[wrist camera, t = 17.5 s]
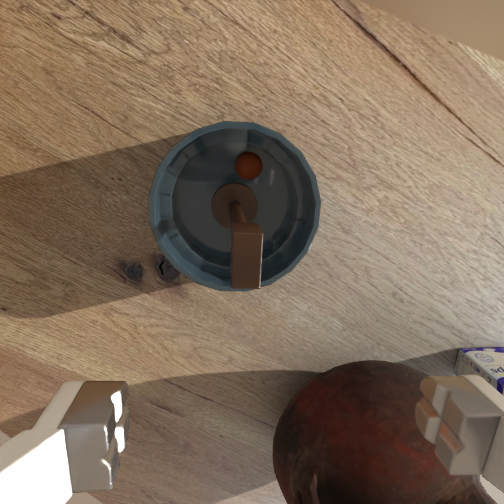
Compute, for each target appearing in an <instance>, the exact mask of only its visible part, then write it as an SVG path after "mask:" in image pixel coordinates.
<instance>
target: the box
mask: <svg viewBox="0 0 504 504" xmlns="http://www.w3.org/2000/svg"><path fill="white" fill-rule="evenodd" d="M454 374H455V375H456V376H459V375H478V376H480V377H482V378H484V379H485V380H486V381H487V382H488V383H489V384H490V385H492V386H493V387H494V388H495V389H496V390H497V391H498V392H499V393H501V394H502V395H503V396H504V347H493V348H459V352H458V357H457V361H456V365H455V369H454Z"/></svg>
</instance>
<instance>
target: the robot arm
mask: <svg viewBox="0 0 504 504" xmlns="http://www.w3.org/2000/svg"><path fill="white" fill-rule="evenodd" d="M420 391H421V392H422V394H423V396H422V397H421V398H420V399H419V400H418V401H417V402H416V407H415V418H416V423H417V426H418V428H419V431H420V432H421V434H422V435H423V437H424V438H425V439H426V440H428V441H429V442H431V443H432V444H434V445H435V452H434V453H435V454H436V455H437V457H438V458H439V460H440V461H441V463H442V464H443V465H444V467H445V468H446V470H447V471H448V473H449V474H450V475H482V477H484V478H485V479H486V480H488V481H489V482H490V483H491V484H493V485H494V486H495V487H497V488H498V489H499V490H501V491H502V492H503V493H504V396H503V395H502V394H501V393H499V392H498V391H497V390H496V389H495V388H494V387H493V386H492V385H490V384H489V383H488V382H487V381H486V380H485V379H484V378H482V377H480V376H478V375H459V376H430V377H424V378H423V380H422V381H421V384H420ZM128 395H129V393H128V384H127V382H126V381H66V382H64V383H62V384H61V386H60V387H59V389H58V390H57V392H56V393H55V395H54V396H53V398H52V399H51V401H50V402H49V404H48V405H47V407H46V408H45V410H44V411H43V413H42V414H41V416H40V417H39V419H38V420H37V422H36V423H35V425H34V426H33V428H32V429H31V430H23V431H22V432H20V433H19V434H17V435H15V436H14V437H12V438H11V439H9V440H8V441H6V442H4V443H3V444H1V445H0V504H65V503H66V502H67V501H68V500H69V499H70V498H71V496H72V495H73V494H72V493H79V492H93V491H106V490H112V486H113V483H114V480H115V477H116V474H117V471H118V468H119V465H120V463H119V453H120V452H121V451H122V450H124V449H125V446H126V442H127V439H128V433H129V428H130V409H129V407H128V406H127V405H126V404H125V403H126V400H127V398H128Z"/></svg>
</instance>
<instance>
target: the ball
mask: <svg viewBox="0 0 504 504" xmlns="http://www.w3.org/2000/svg"><path fill="white" fill-rule="evenodd" d="M262 167H263V165H262V160H261V158H260V157H259V156H258V155H257V154H255V153H253V152H244V153H242V154H241V155H239V156H238V158H237V159H236V162H235V170H236V172H237V174H238V175H239V176H240V177H241V178H242V179H245V180H253V179H255V178H257V177H258V176H259V175H260V173H261V171H262Z"/></svg>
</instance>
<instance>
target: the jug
mask: <svg viewBox="0 0 504 504" xmlns="http://www.w3.org/2000/svg"><path fill="white" fill-rule="evenodd" d="M424 377H430V376H429V375H427V374H425V373H423V372H421V371H418V370H416V369H414V368H411V367H409V366H405V365H402V364H397V363H391V362H386V361H376V360H368V361H358V362H352V363H348V364H344V365H340V366H337V367H335V368H332V369H330V370H328V371H326V372H324V373H322V374H321V375H319V376H317V377H316V378H314V379H312V380H311V381H310V382H308V383H307V384H306V385H304V386H303V387H302V388H301V389H300V390H299V391H298V392H297V393H296V394H295V395H294V397H293V398H292V399H291V401H290V402H289V403H288V405H287V406H286V408H285V410H284V412H283V413H282V415H281V417H280V419H279V422H278V424H277V427H276V431H275V434H274V438H273V465H274V471H275V475H276V478H277V480H278V483H279V486H280V488H281V491H282V493H283V495H284V497H285V500H286V502H287V504H497V503H496V502H495V501H494V500H493V499H492V498H491V497H490V496H489V495H488V494H487V493H486V490H485V489H484V487H483V486H482V484H481V482H480V475H450V474H449V473H448V471H447V470H446V468H445V467H444V465H443V464H442V463H441V461H440V460H439V458H438V457H437V455H436V454H435V453H434V452H435V445H434V444H432V443H431V442H429V441H428V440H426V439H425V438H424V437H423V435H422V434H421V432H420V431H419V428H418V426H417V423H416V418H415V407H416V402H417V401H418V400H419V399H420V398H421V397H422V396H423V394H422V392H421V391H420V384H421V381H422V380H423V378H424Z"/></svg>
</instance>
